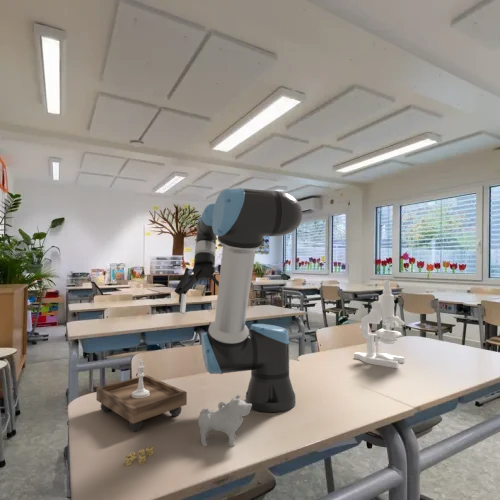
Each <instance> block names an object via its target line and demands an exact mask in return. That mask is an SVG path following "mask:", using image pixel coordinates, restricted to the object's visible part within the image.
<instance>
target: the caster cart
mask: <svg viewBox="0 0 500 500" xmlns="http://www.w3.org/2000/svg"><path fill="white" fill-rule="evenodd" d="M144 375H145V376H143V386H144V388H145V389H146V390H148V391H149V393H150V395H149V396H147V397H144V398H133V397H132V393H133V392H134V391H136V390H137V389H138V383H139V377H138V376H136V377H134V378H129V379H126V380H122V381H118V382H114V383H111V384H107V385H106V384H105V385H103V386H99V387H96V401H97V402H99V403H101V404H100V409H101V410H102V411H103V412H105V413H108V412H111V411H113V412H114V413H116V414H117V415H119V416H121V418H123V419H125V420H126V421H127V422H128V428H129V429H130V430H131V431H133V432H137V431H139V430H141V428H142V426H143V421H144V420H147V419H150V418H153V417H156V416H158V415H159V416H160V415H161V414H165V413H166V412H169V414H170V415H171V416H173V417H178V416H179V415H180V414H181V412H182V407H184V406H187V405H188V403H187V399H188V398H187V396H188V395H187V394H188V393H187V391H185V390H183V389H180V388H178V387H176V386H173V385H171V384H169V383H167V382H165V381H162V380H159V379H157V378H154V377H152V376H150V375H148V374H147V375H146V374H144Z"/></svg>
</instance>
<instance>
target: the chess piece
mask: <svg viewBox="0 0 500 500" xmlns="http://www.w3.org/2000/svg"><path fill="white" fill-rule="evenodd" d="M143 363H144V360H143V359H139V362H138V366H137V372H138V374H137V375H136V377H139V383H138V389H137V390H136V391H134V392H133V393H132V397H133V398H144V397H147V396H149V395H150V393H149V391H148V390H146V389H145V388H144V386H143V376H145V375H146V374H145V373H144V370H145V365H143Z"/></svg>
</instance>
